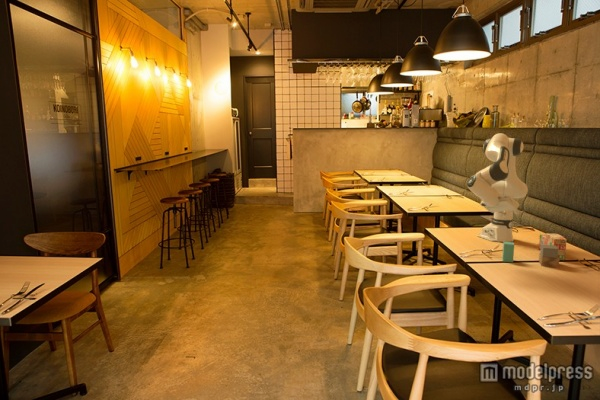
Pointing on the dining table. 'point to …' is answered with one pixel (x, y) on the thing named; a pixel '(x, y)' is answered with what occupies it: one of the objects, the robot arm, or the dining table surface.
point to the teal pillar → (508, 251)
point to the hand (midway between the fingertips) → (511, 214)
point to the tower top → (549, 251)
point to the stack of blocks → (554, 243)
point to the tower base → (548, 261)
